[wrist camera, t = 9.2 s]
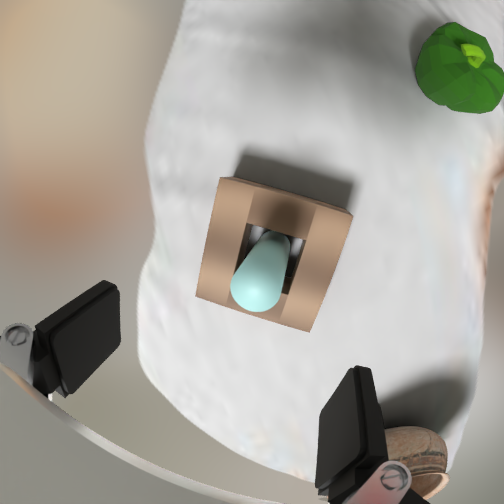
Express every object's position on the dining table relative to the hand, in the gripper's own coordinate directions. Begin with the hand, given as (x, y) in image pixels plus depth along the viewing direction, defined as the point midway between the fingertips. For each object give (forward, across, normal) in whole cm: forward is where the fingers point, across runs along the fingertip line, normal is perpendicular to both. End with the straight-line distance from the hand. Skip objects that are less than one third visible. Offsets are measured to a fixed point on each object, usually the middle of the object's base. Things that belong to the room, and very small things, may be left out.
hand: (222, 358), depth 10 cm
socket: (+18, 0, +1) cm, 18 cm away
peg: (+18, 0, +1) cm, 18 cm away
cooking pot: (+17, -26, +26) cm, 41 cm away
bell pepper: (+18, -12, -21) cm, 30 cm away
